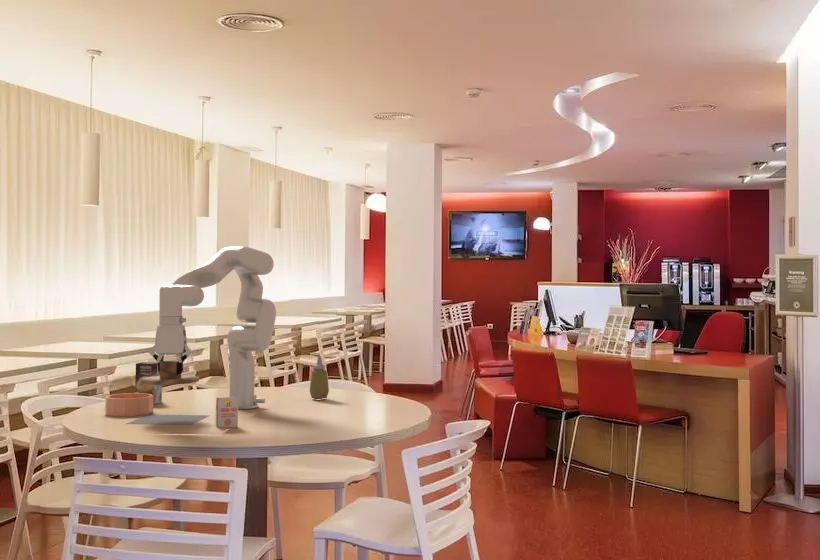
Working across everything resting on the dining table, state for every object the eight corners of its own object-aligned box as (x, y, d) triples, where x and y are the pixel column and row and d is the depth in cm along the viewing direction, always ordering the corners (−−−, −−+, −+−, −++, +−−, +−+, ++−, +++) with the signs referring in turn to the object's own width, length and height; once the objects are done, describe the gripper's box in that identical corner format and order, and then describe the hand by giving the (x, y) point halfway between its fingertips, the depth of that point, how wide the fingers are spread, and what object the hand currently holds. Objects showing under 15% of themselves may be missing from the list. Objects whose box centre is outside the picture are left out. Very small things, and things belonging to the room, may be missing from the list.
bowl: (159, 410, 288) (159, 393, 288) (142, 417, 272) (142, 399, 272) (117, 410, 288) (117, 392, 289) (97, 417, 273) (98, 398, 273)
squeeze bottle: (307, 398, 324) (307, 356, 324) (325, 398, 327) (326, 355, 327) (312, 401, 317) (312, 357, 317) (331, 400, 320) (331, 357, 320)
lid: (206, 378, 275) (206, 358, 275) (188, 385, 256) (188, 364, 256) (154, 377, 276) (154, 358, 276) (132, 384, 257) (132, 363, 257)
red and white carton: (215, 427, 255) (216, 396, 255) (236, 426, 257) (236, 396, 257) (216, 429, 251) (217, 398, 251) (237, 428, 253) (238, 397, 253)
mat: (209, 417, 274) (209, 415, 275) (190, 426, 255) (190, 425, 255) (149, 416, 276) (149, 414, 276) (125, 425, 256) (125, 423, 256)
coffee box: (133, 403, 306) (134, 363, 306) (141, 401, 312) (141, 361, 312) (156, 404, 305) (156, 363, 305) (162, 402, 311) (163, 362, 311)
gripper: (198, 321, 269) (198, 372, 269) (150, 320, 270) (150, 372, 270) (191, 322, 262) (191, 375, 261) (142, 321, 262) (141, 375, 262)
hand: (170, 373), depth 266 cm, fingers closed on lid, 5 cm apart
